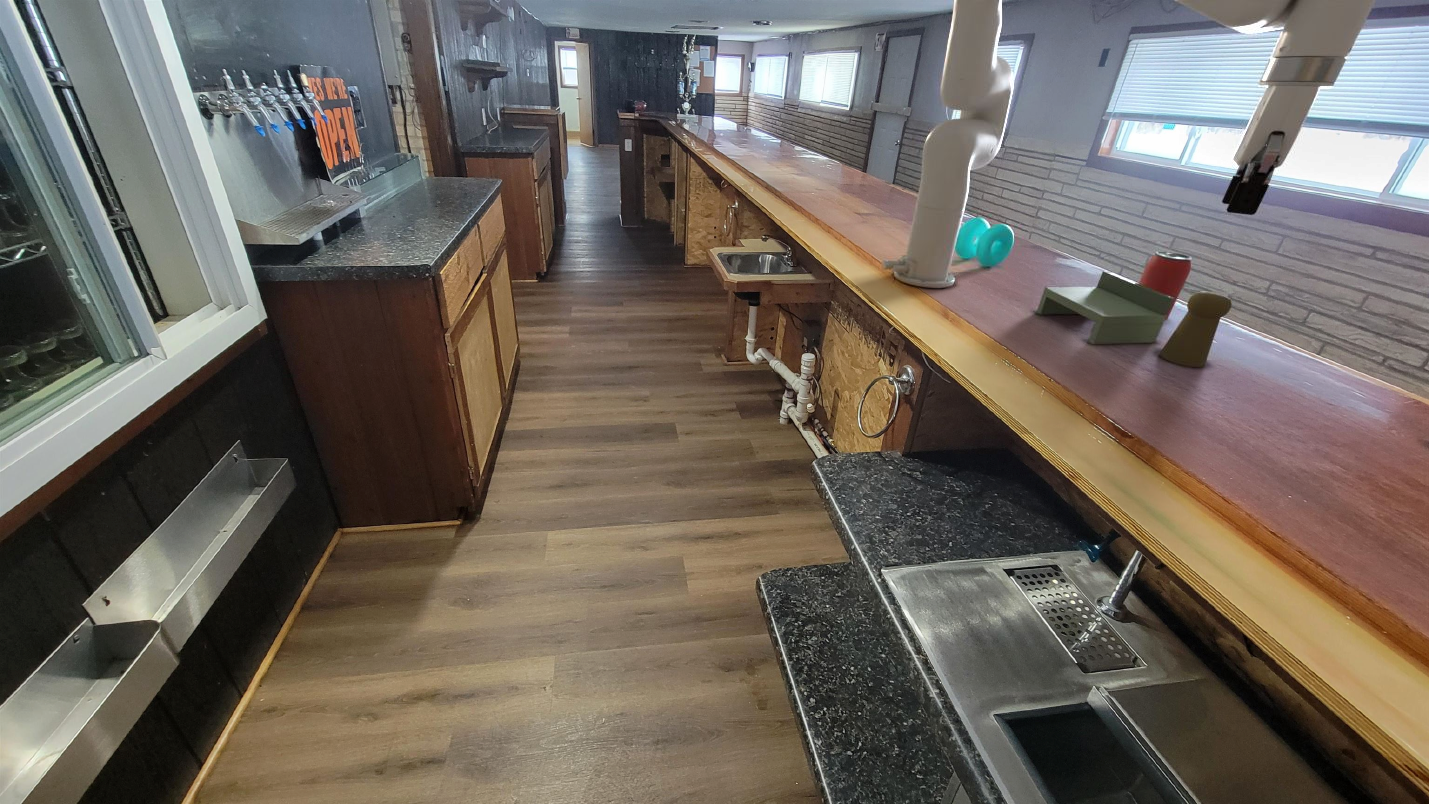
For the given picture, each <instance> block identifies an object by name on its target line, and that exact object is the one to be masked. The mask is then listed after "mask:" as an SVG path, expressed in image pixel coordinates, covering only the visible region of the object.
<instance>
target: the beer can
mask: <svg viewBox="0 0 1429 804" xmlns="http://www.w3.org/2000/svg"><path fill="white" fill-rule="evenodd" d="M1192 260H1193V258H1192V257H1191V256H1190V255H1187V254H1185V253H1181V252H1180V253H1179V252H1174V251H1168V250H1167V251H1166V250H1158V251H1155V252H1154V254H1153V256H1152V257H1151V258H1150V259H1149V260H1148V261H1147V263H1146V265H1145V268H1144V269H1143V272H1142V274H1141V276H1140V279H1139V282H1138V284H1140V285H1143V286H1145V287H1148V288H1150V289H1153V290H1155V291H1158V292H1160V293H1163V294H1165V295H1168V296H1170V297H1173V298H1175V299H1174V301H1173V303H1172V305H1171V307H1170V309H1169V312H1168V314H1167V316H1166V318H1165V320H1164V322H1165V321H1167V320H1168V319H1169V317H1170V314H1171V313H1172V310H1173V308H1174V307H1175V304H1176V302H1177V300H1178V298H1179V296H1180V294H1181V291H1182V289H1183V287H1184V286H1185V284H1186V281H1187V279H1188V277H1189V275H1190V272H1191V268H1192Z"/></svg>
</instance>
